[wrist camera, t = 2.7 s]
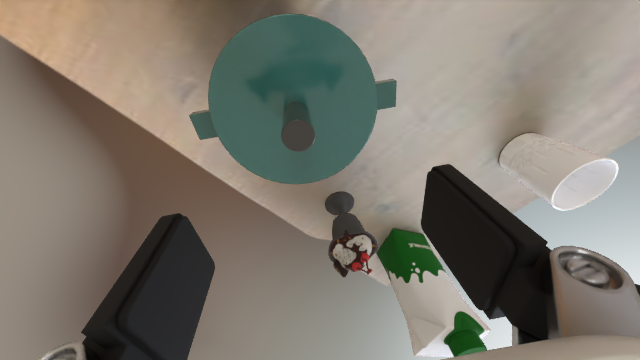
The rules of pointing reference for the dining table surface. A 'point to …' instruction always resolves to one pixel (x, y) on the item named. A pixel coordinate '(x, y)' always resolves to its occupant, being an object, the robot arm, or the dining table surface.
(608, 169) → the white cup
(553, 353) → the robot arm
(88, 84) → the dining table surface
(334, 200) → the sundae
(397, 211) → the dining table surface
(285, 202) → the dining table surface
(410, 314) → the milk carton
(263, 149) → the lid
